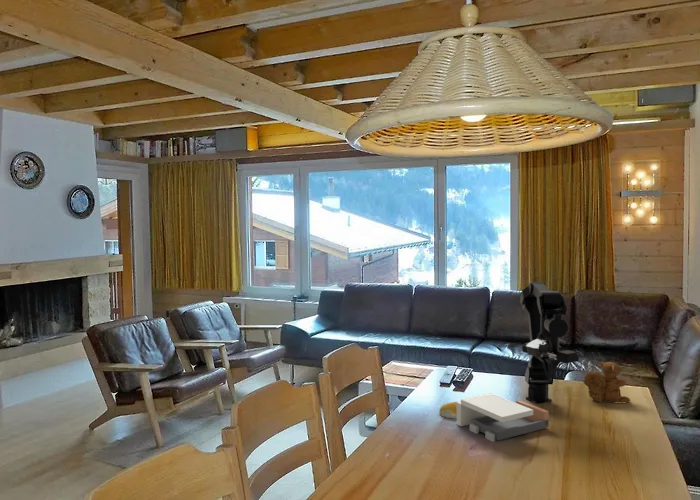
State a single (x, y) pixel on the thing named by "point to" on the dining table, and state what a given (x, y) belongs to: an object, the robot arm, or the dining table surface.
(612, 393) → the stuffed squirrel
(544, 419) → the tray
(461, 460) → the dining table surface
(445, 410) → the bread roll
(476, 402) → the overhang shelf
